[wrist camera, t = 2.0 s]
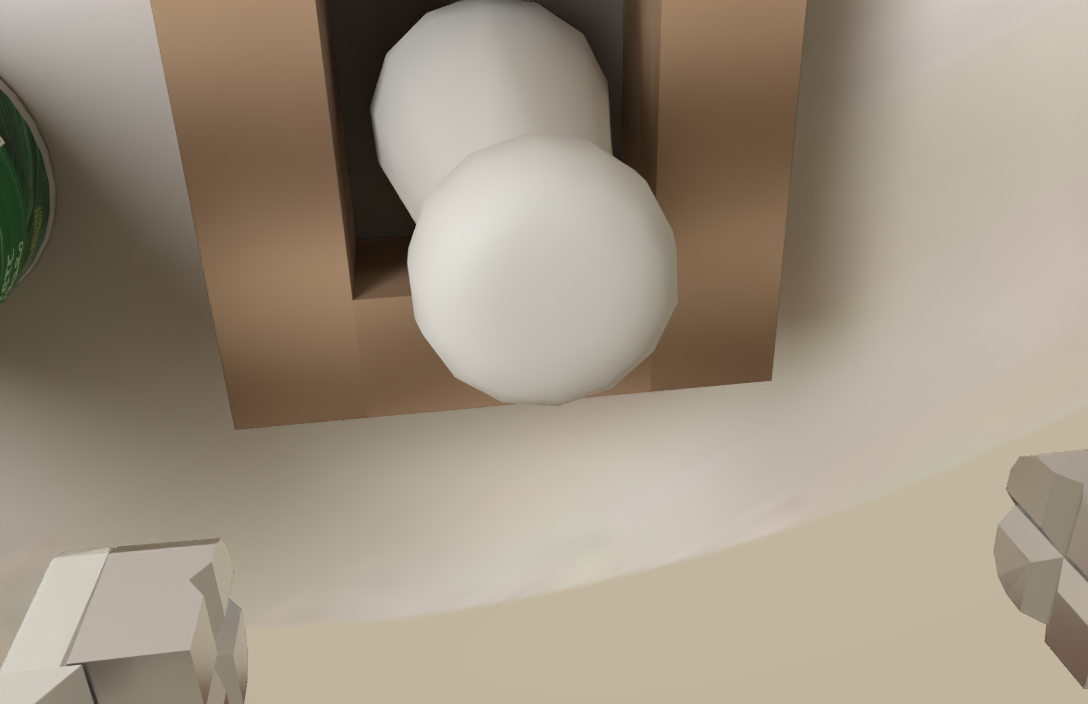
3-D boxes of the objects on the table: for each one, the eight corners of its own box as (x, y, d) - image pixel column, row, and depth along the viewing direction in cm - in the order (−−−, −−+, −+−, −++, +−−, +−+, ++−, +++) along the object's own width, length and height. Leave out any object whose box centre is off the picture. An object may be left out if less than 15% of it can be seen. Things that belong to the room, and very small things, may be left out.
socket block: (152, -201, 22) (109, -205, 19) (763, -216, 24) (827, -222, 20) (253, 355, 29) (234, 429, 25) (727, 316, 30) (771, 380, 27)
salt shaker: (558, -51, 25) (702, 56, 14) (617, 161, 28) (778, 398, 16) (335, 26, 25) (293, 196, 14) (416, 230, 28) (437, 513, 16)
